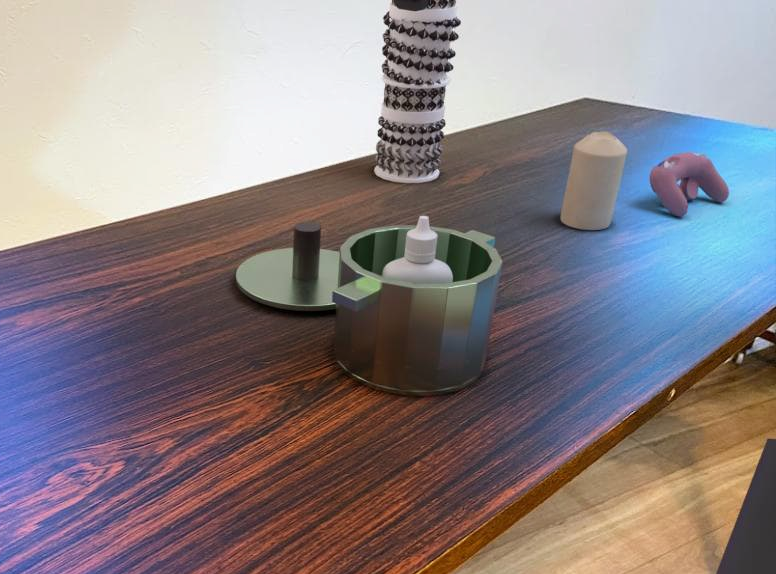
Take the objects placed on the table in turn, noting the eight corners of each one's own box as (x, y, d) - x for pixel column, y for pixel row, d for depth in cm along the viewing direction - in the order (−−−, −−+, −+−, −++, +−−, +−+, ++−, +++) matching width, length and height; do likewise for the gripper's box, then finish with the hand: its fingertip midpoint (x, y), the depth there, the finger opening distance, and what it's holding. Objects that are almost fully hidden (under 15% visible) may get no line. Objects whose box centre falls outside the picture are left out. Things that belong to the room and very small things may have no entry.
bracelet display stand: (407, 189, 114) (429, -31, 100) (356, 170, 120) (371, -39, 106) (457, 175, 118) (484, -37, 105) (405, 157, 124) (425, -45, 111)
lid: (403, 287, 89) (409, 227, 86) (307, 331, 82) (310, 267, 78) (302, 247, 98) (305, 191, 94) (207, 284, 90) (206, 224, 87)
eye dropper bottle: (388, 333, 80) (401, 202, 74) (449, 348, 78) (468, 215, 71) (367, 353, 77) (379, 219, 70) (430, 371, 75) (448, 233, 68)
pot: (530, 349, 79) (550, 246, 74) (399, 427, 68) (412, 314, 63) (414, 302, 87) (425, 206, 81) (281, 366, 76) (284, 261, 71)
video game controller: (697, 206, 113) (688, 150, 111) (733, 199, 109) (723, 141, 107) (649, 222, 108) (638, 164, 107) (684, 216, 104) (674, 155, 103)
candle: (613, 232, 101) (634, 143, 96) (562, 229, 102) (580, 140, 97) (606, 214, 106) (625, 128, 100) (557, 212, 107) (574, 126, 101)
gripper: (497, -281, 60) (464, -14, 69) (355, -298, 52) (338, 7, 61) (602, -290, 55) (552, -3, 64) (464, -310, 47) (429, 22, 56)
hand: (448, 2), depth 62 cm, fingers open, 8 cm apart
